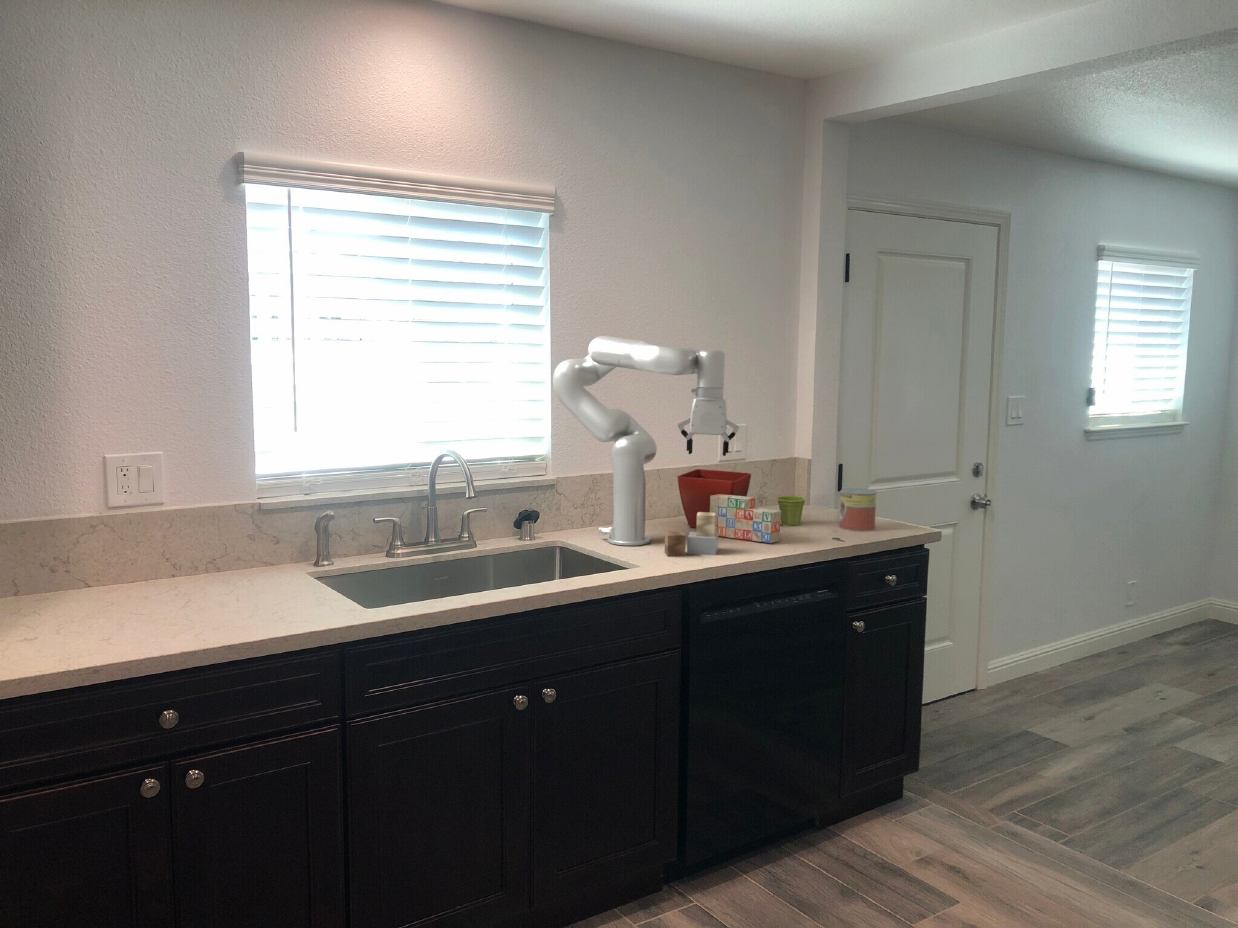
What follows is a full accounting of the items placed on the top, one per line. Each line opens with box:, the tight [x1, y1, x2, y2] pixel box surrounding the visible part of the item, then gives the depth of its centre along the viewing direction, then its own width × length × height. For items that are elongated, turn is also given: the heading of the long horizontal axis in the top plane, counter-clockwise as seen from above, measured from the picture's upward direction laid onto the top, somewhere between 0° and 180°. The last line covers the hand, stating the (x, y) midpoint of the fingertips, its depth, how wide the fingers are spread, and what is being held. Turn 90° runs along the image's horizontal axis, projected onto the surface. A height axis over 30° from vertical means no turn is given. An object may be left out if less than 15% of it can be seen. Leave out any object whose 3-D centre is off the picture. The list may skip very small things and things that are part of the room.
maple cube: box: [695, 512, 716, 537], centre depth 266 cm, size 5×5×6 cm
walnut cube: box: [664, 531, 687, 558], centre depth 262 cm, size 5×5×6 cm
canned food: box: [838, 488, 877, 533], centre depth 301 cm, size 11×11×12 cm
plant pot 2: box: [776, 495, 807, 527], centre depth 307 cm, size 9×9×9 cm
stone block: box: [686, 531, 720, 556], centre depth 266 cm, size 8×8×5 cm
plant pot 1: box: [676, 468, 752, 529], centre depth 302 cm, size 19×19×17 cm
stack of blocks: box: [710, 494, 781, 544], centre depth 284 cm, size 21×6×12 cm, turn 53°
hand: (707, 454), depth 265 cm, fingers open, 9 cm apart
